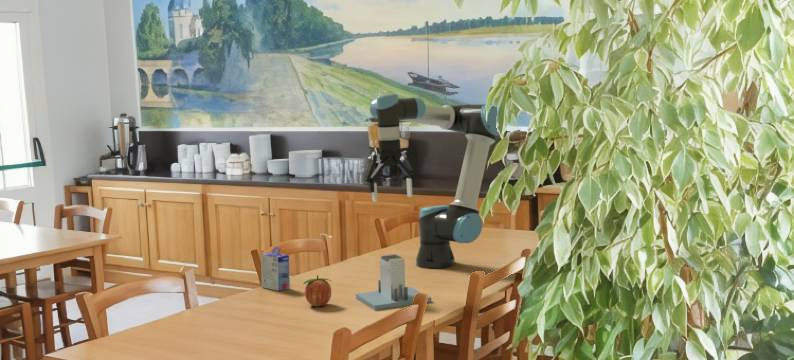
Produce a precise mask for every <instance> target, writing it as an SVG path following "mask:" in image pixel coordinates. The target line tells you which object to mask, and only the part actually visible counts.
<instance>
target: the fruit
mask: <svg viewBox="0 0 794 360" xmlns="http://www.w3.org/2000/svg"><path fill="white" fill-rule="evenodd" d="M328 281H330V282H332V280H331V279H329V278H323V277H319V275H318V274H317V275H316V278H311V279H307V280H306V281H304V282H303V283H302V284H303V285H306V286H305V288H304V289H305V290H304V296H305V299H306V301H307V303H308V304H310V305H311V306H313V307H323V306H325V305H327V304H328V303H329V302H330V300H331V297H332V287H331V285H330V284H329V282H328Z"/></svg>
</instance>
